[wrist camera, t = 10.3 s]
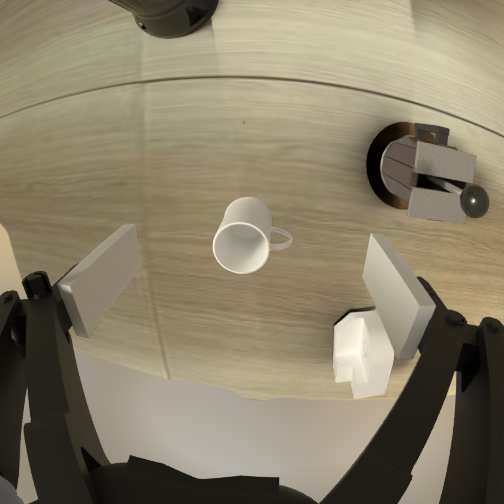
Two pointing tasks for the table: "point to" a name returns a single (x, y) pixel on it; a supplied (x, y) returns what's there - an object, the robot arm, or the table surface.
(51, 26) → the table surface
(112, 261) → the robot arm
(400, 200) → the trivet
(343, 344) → the tape dispenser
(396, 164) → the wooden tankard
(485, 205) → the plunger
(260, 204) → the mug
